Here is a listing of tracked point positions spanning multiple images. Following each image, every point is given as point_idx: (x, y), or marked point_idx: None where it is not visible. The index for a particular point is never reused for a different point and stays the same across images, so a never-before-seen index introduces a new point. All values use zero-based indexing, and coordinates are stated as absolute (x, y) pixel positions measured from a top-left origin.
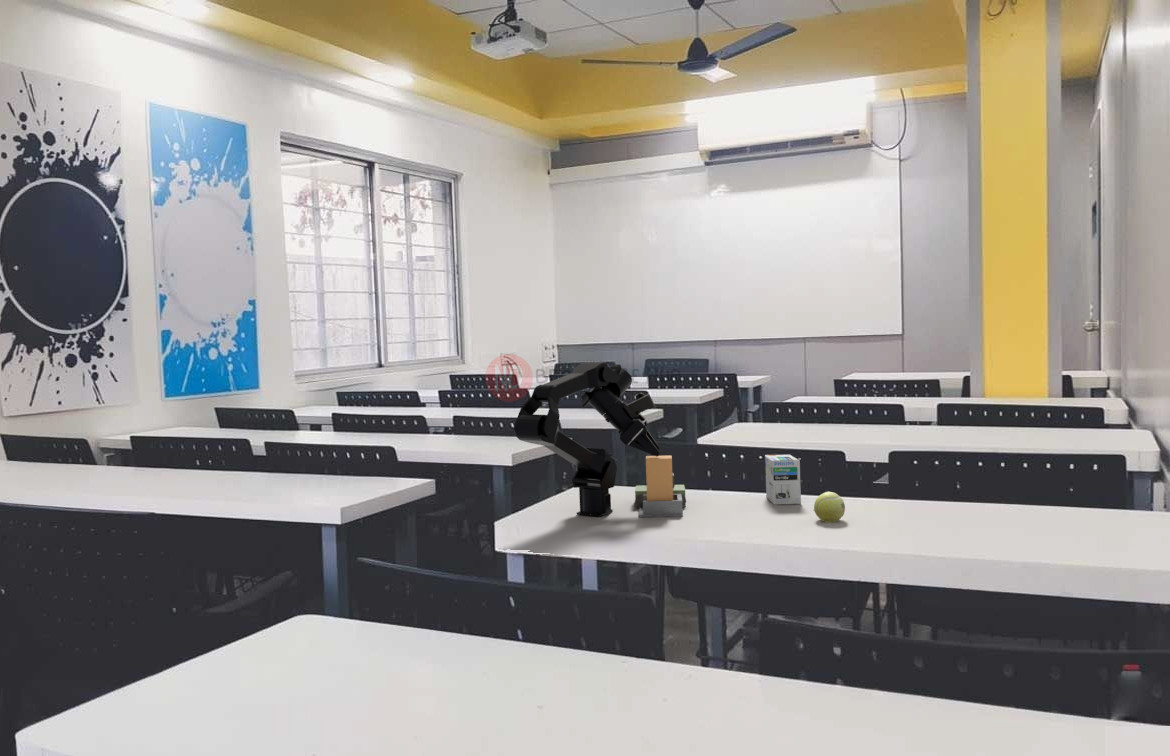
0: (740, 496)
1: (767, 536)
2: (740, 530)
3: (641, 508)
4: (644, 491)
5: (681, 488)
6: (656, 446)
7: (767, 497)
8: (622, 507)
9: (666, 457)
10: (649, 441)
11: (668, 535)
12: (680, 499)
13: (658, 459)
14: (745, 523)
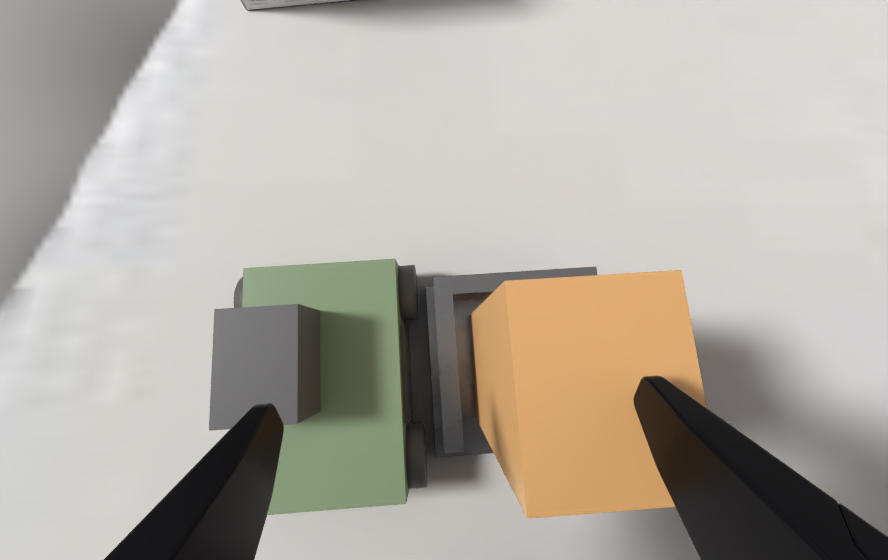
0: (217, 87)
1: (833, 43)
2: (769, 106)
3: (474, 444)
4: (404, 452)
5: (348, 276)
6: (261, 444)
7: (269, 6)
8: (400, 535)
9: (629, 317)
10: (882, 548)
11: (877, 313)
12: (565, 275)
13: (697, 382)
14: (671, 89)
